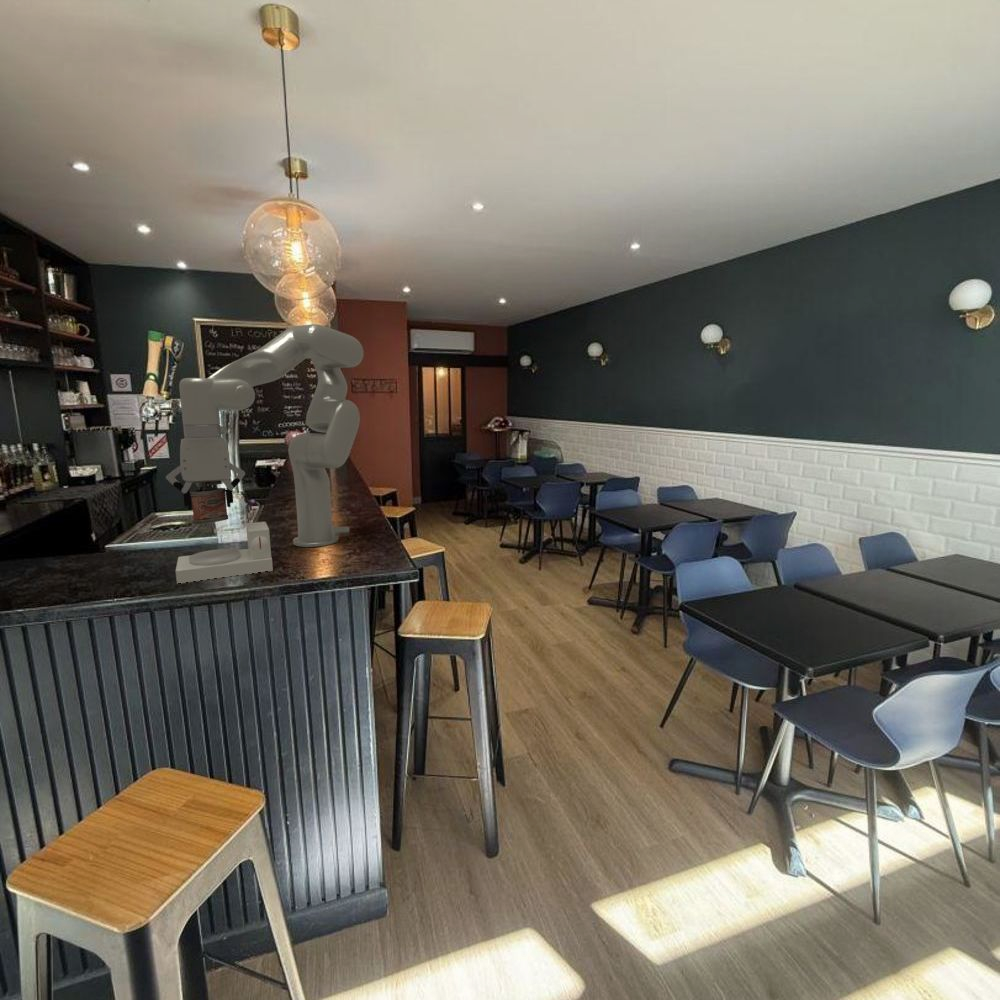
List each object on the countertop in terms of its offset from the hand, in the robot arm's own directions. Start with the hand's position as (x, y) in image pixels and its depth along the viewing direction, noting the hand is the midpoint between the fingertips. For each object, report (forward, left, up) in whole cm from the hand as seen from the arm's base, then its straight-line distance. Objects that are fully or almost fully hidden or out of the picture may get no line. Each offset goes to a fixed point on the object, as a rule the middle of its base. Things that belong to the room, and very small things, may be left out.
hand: (209, 507), depth 127 cm
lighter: (0, 0, -4) cm, 4 cm away
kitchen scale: (-2, 0, -16) cm, 16 cm away
